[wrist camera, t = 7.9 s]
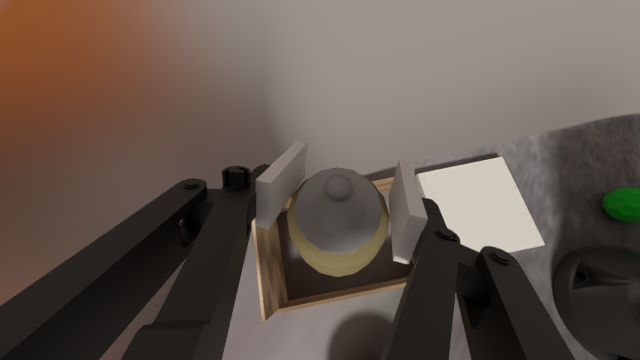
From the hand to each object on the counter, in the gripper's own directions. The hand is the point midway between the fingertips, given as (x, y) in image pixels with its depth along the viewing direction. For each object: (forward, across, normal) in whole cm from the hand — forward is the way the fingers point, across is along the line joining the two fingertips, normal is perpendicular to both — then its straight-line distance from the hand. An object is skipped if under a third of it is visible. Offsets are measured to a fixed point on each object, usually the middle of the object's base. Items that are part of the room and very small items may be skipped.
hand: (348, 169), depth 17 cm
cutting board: (+20, +19, -11) cm, 30 cm away
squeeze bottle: (+5, 0, -10) cm, 12 cm away
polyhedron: (+24, +39, -8) cm, 47 cm away
